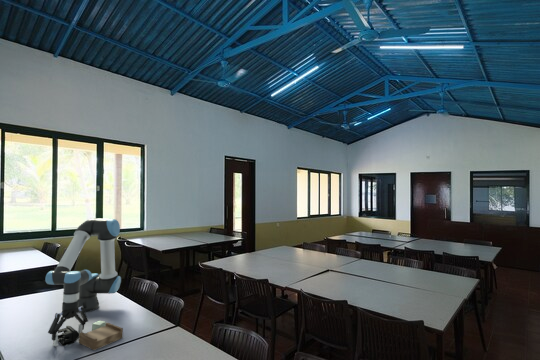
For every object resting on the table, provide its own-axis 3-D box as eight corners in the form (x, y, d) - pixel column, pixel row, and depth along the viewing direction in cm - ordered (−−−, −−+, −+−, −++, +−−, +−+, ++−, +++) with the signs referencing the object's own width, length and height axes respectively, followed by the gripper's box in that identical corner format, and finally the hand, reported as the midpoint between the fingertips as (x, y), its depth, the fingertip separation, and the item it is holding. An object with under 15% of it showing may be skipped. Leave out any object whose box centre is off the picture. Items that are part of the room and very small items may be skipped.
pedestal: (107, 331, 176) (107, 322, 176) (122, 338, 169) (122, 328, 170) (78, 343, 162) (79, 332, 162) (94, 350, 155) (95, 339, 156)
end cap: (78, 342, 163) (79, 329, 164) (63, 346, 158) (64, 333, 158) (71, 336, 169) (72, 324, 170) (56, 340, 164) (57, 328, 164)
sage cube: (98, 328, 180) (98, 320, 180) (105, 330, 179) (105, 321, 179) (91, 332, 175) (92, 323, 175) (98, 333, 174) (99, 324, 174)
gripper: (88, 293, 177) (86, 330, 176) (42, 305, 156) (38, 348, 155) (96, 295, 174) (94, 334, 172) (49, 308, 152) (46, 352, 151)
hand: (67, 340), depth 164 cm, fingers open, 12 cm apart
